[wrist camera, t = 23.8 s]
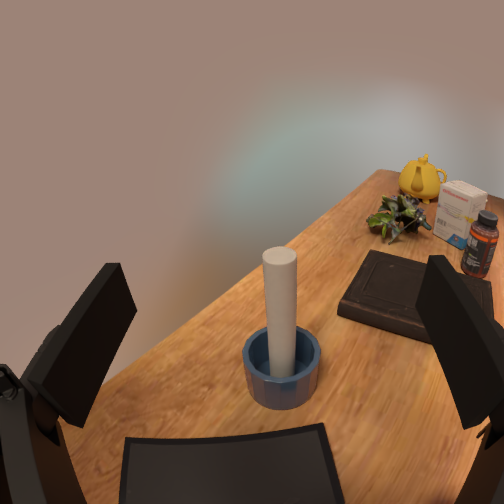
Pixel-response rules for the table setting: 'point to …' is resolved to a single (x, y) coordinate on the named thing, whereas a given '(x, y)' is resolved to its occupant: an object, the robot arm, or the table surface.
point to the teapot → (421, 179)
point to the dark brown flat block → (397, 294)
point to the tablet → (232, 469)
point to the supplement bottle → (480, 245)
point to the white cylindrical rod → (281, 308)
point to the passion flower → (399, 215)
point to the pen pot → (287, 388)
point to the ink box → (457, 211)
